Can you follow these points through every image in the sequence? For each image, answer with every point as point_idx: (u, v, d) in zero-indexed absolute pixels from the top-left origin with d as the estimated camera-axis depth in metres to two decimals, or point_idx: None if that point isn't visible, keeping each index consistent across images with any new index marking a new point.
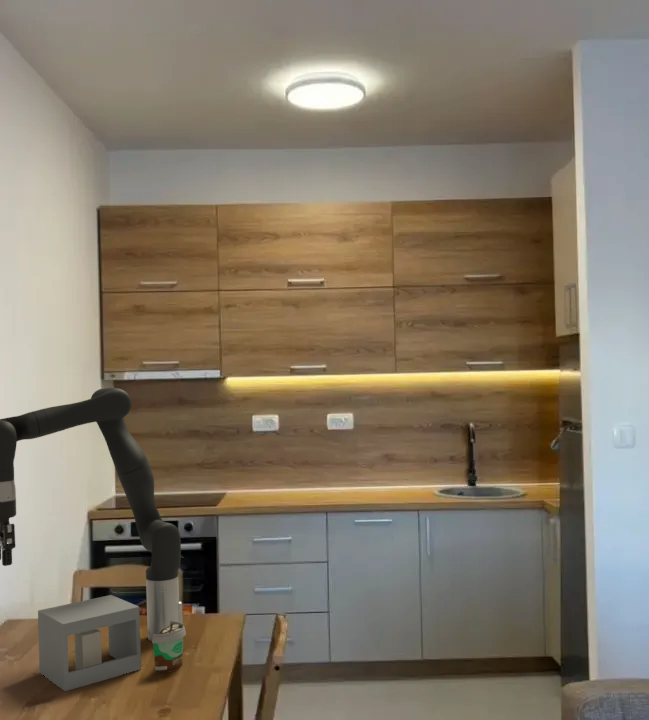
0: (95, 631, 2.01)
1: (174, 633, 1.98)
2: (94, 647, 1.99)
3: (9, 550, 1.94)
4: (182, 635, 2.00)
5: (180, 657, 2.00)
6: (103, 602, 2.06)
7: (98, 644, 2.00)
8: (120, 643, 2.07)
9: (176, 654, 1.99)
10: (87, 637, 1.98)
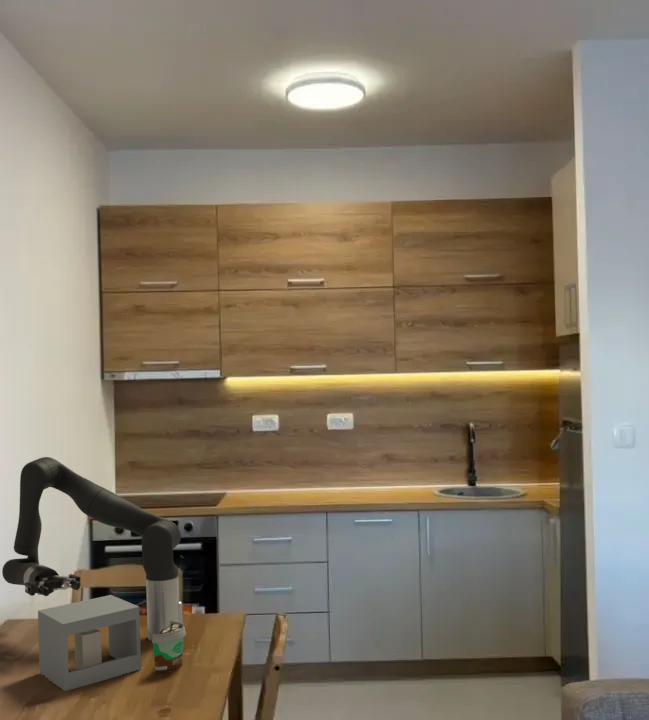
0: (95, 631, 2.01)
1: (174, 633, 1.98)
2: (94, 647, 1.99)
3: (37, 589, 2.13)
4: (182, 635, 2.00)
5: (180, 657, 2.00)
6: (103, 602, 2.06)
7: (98, 644, 2.00)
8: (120, 643, 2.07)
9: (176, 654, 1.99)
10: (87, 637, 1.98)
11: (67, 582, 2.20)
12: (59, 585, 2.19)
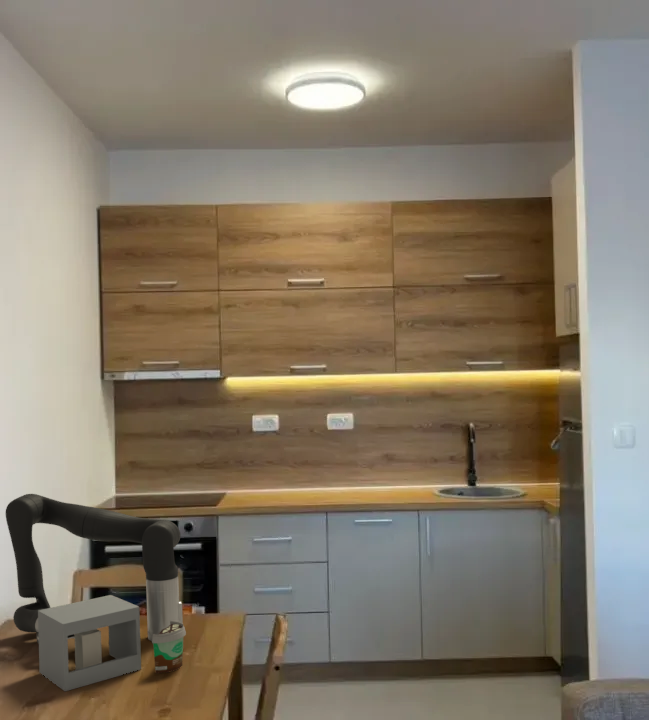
0: (95, 631, 2.01)
1: (174, 633, 1.98)
2: (94, 647, 1.99)
3: None
4: (182, 635, 2.00)
5: (180, 657, 2.00)
6: (103, 602, 2.06)
7: (98, 644, 2.00)
8: (120, 643, 2.07)
9: (176, 654, 1.99)
10: (87, 637, 1.98)
11: None
12: None
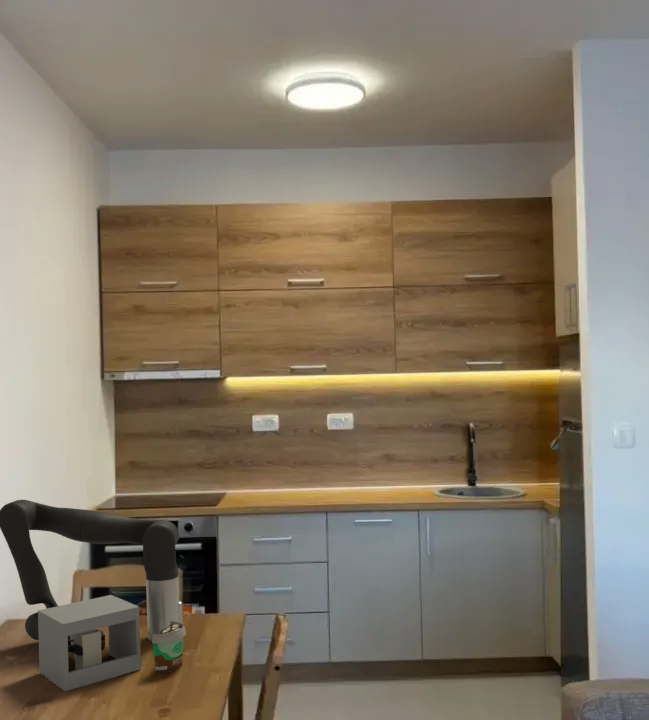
0: (95, 631, 2.01)
1: (174, 633, 1.98)
2: (94, 646, 1.99)
3: (71, 648, 1.99)
4: (182, 635, 2.00)
5: (180, 657, 2.00)
6: (103, 602, 2.06)
7: (98, 644, 2.00)
8: (120, 643, 2.07)
9: (176, 654, 1.99)
10: (87, 637, 1.98)
11: None
12: None
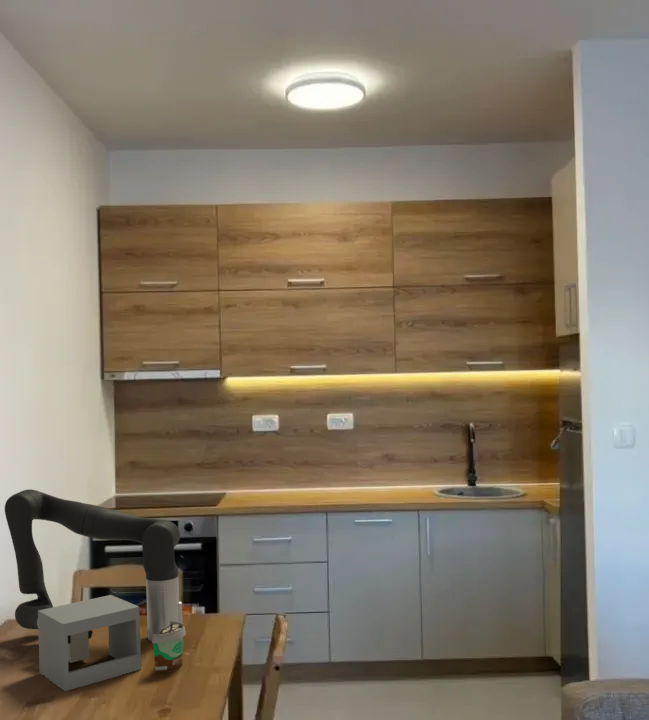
0: None
1: (174, 633, 1.98)
2: (81, 635, 2.05)
3: None
4: (182, 635, 2.00)
5: (180, 657, 2.00)
6: (103, 602, 2.06)
7: (85, 632, 2.06)
8: (120, 643, 2.07)
9: (176, 654, 1.99)
10: None
11: None
12: None
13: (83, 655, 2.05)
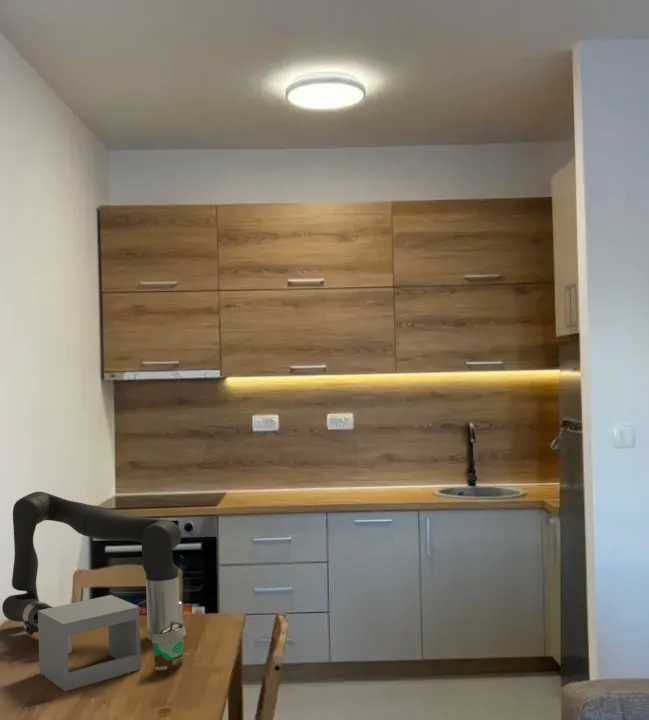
0: None
1: (174, 633, 1.98)
2: None
3: (36, 628, 2.14)
4: (182, 635, 2.00)
5: (180, 657, 2.00)
6: (103, 602, 2.06)
7: None
8: (120, 643, 2.07)
9: (176, 654, 1.99)
10: None
11: None
12: None
13: None
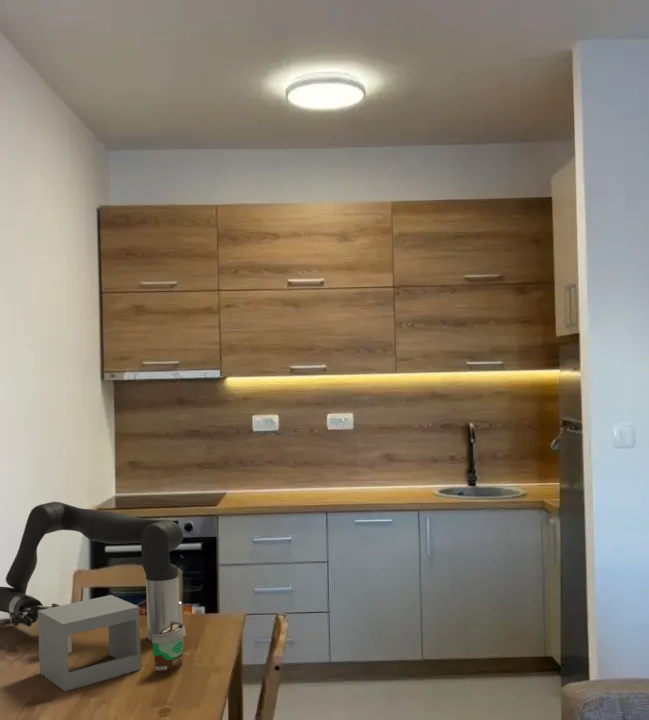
0: None
1: (174, 633, 1.98)
2: None
3: (21, 620, 2.23)
4: (182, 635, 2.00)
5: (180, 657, 2.00)
6: (103, 602, 2.06)
7: None
8: (120, 643, 2.07)
9: (176, 654, 1.99)
10: None
11: None
12: None
13: None
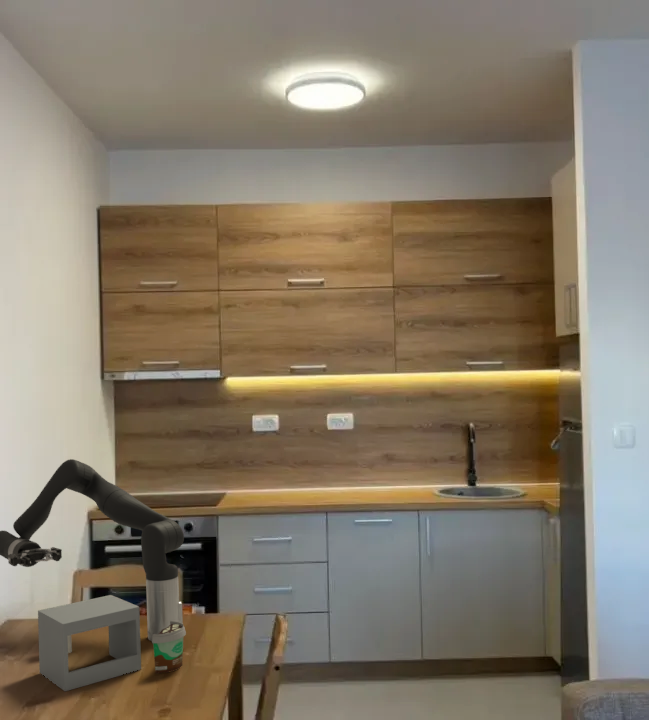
0: None
1: (174, 633, 1.98)
2: None
3: (20, 560, 2.24)
4: (182, 635, 2.00)
5: (180, 657, 2.00)
6: (103, 602, 2.06)
7: None
8: (120, 643, 2.07)
9: (176, 654, 1.99)
10: None
11: (49, 554, 2.31)
12: (41, 557, 2.30)
13: None
